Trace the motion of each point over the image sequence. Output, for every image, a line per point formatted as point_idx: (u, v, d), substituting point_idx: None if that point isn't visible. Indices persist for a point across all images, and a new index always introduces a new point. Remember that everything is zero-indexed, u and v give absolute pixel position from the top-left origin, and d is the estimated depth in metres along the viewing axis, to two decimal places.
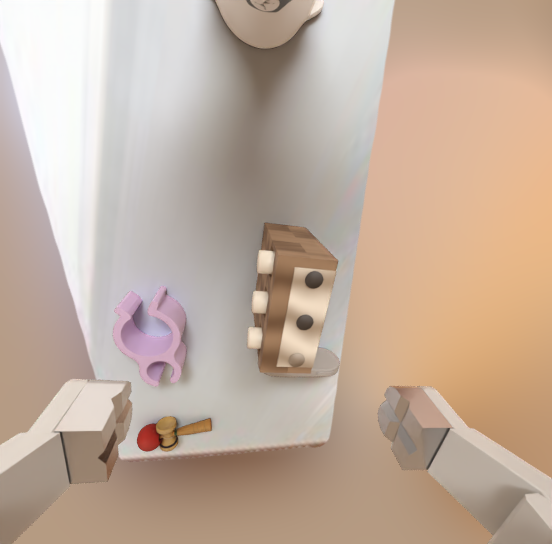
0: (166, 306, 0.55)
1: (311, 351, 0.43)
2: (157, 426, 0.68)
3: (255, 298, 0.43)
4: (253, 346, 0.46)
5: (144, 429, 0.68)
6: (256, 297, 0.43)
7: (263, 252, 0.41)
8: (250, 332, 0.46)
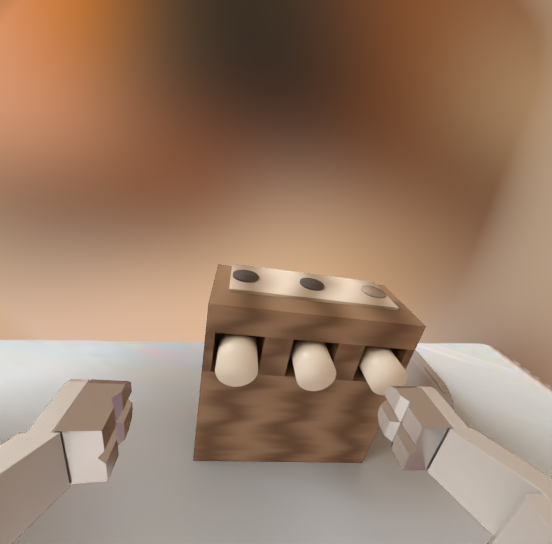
0: None
1: (351, 281, 0.32)
2: None
3: (305, 362, 0.24)
4: (395, 360, 0.25)
5: None
6: (303, 362, 0.24)
7: (217, 360, 0.23)
8: (374, 372, 0.25)
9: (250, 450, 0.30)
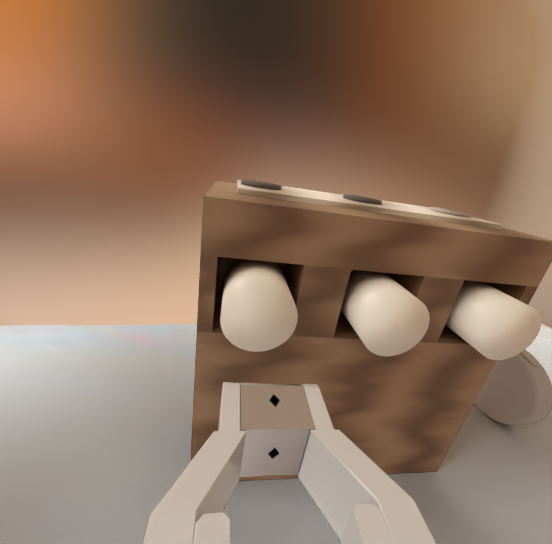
0: None
1: (412, 205, 0.22)
2: None
3: (378, 302, 0.13)
4: (517, 300, 0.15)
5: None
6: (373, 303, 0.14)
7: (223, 302, 0.13)
8: (489, 319, 0.15)
9: None
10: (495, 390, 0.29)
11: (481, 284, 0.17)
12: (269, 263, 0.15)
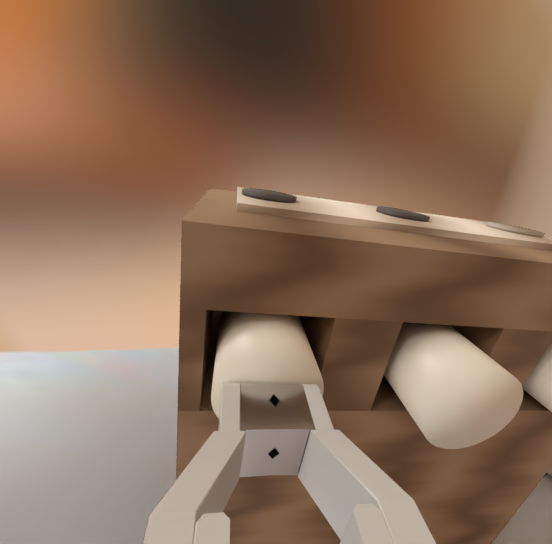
0: None
1: (459, 219, 0.17)
2: None
3: (451, 380, 0.09)
4: None
5: None
6: (442, 379, 0.09)
7: (216, 370, 0.09)
8: None
9: None
10: None
11: None
12: None
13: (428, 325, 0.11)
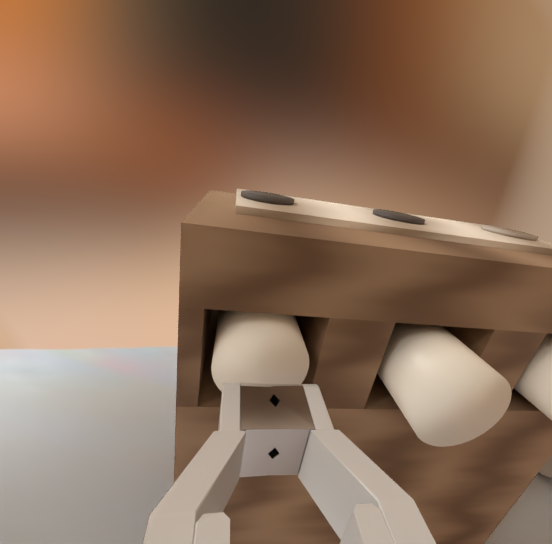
0: None
1: (455, 222, 0.17)
2: None
3: (440, 379, 0.09)
4: None
5: None
6: (432, 377, 0.09)
7: (216, 345, 0.10)
8: None
9: None
10: None
11: None
12: None
13: (421, 326, 0.11)
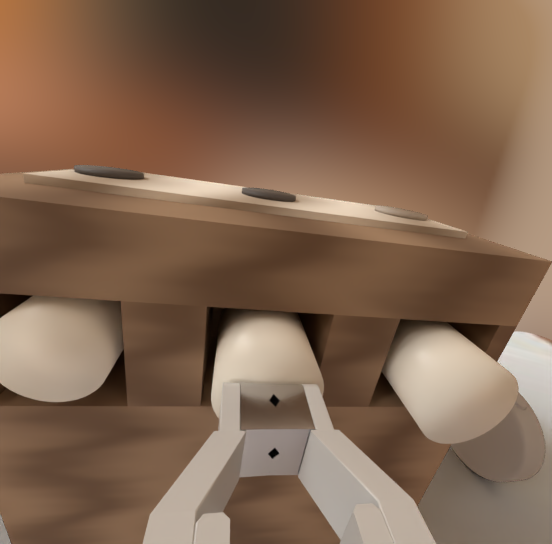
0: None
1: (353, 204, 0.16)
2: None
3: (232, 359, 0.08)
4: (482, 352, 0.10)
5: None
6: (227, 358, 0.08)
7: None
8: (433, 386, 0.09)
9: None
10: None
11: (432, 321, 0.11)
12: None
13: None
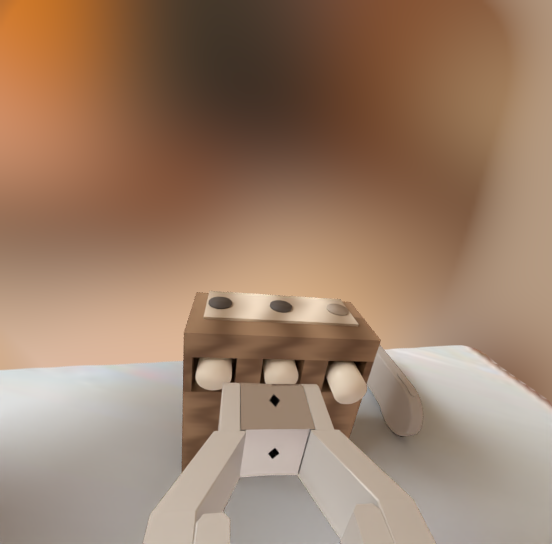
0: None
1: (319, 301, 0.35)
2: None
3: (271, 366, 0.28)
4: (355, 372, 0.29)
5: None
6: (269, 366, 0.29)
7: (197, 368, 0.28)
8: (336, 384, 0.28)
9: None
10: (393, 411, 0.42)
11: None
12: None
13: None
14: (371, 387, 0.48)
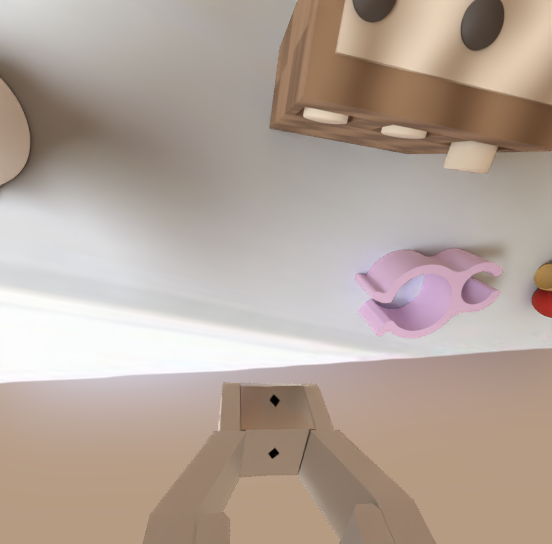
0: (382, 278, 0.41)
1: None
2: (545, 288, 0.48)
3: (397, 128, 0.22)
4: (488, 161, 0.24)
5: (538, 304, 0.49)
6: (396, 125, 0.22)
7: (307, 107, 0.21)
8: (456, 165, 0.24)
9: (318, 135, 0.35)
10: None
11: None
12: None
13: None
14: None
